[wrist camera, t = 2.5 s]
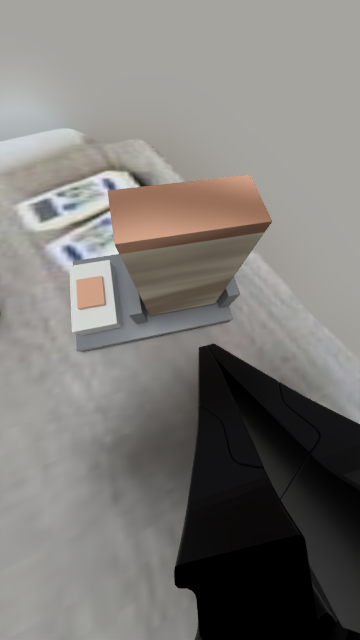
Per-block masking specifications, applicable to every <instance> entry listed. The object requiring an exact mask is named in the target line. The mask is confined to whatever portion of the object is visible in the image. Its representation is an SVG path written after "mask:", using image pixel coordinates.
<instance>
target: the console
mask: <svg viewBox="0 0 360 640" xmlns="http://www.w3.org/2000/svg"><path fill="white" fill-rule="evenodd" d="M70 292H71V320H72V332H73V333H76V340H77V351H80V352H85V351H90V350H94V349H99V348H104V347H109V346H114V345H118V344H123V343H128V342H133V341H138V340H142V339H147V338H152V337H157V336H162V335H166V334H171V333H176V332H181V331H186V330H190V329H195V328H200V327H205V326H210V325H214V324H219V323H224V322H229V321H231V320H232V319H233V318H232V315H231V312H230V309H229V305H230V304H231V303H232V302H233V301H234V300H235V299H236V298H237V297H238V296H239V295H240V292H239V290H238V287H237V284H236V281H235V278H234V277H233V278H232V280H231V281H230V283H229V284H228V285H227V287H226V288H225V290H224V291H223V293H222V294H221V295H220V297H219V298H218V300H217V301H216V303H214V304H209V305H204V306H199V307H194V308H188V309H183V310H178V311H173V312H168V313H163V314H158V315H152V316H150V315H149V313H148V311H147V309H146V307H145V304H144V302H143V300H142V298H141V296H140V294H139V292H138V290H137V288H136V286H135V284H134V282H133V280H132V278H131V276H130V274H129V272H128V270H127V268H126V266H125V264H124V262H123V260H122V258H121V256H120V254H118V255H111V256H104V257H98V258H91V259H85V260H78V261H73V266H70Z"/></svg>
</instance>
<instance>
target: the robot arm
mask: <svg viewBox="0 0 360 640" xmlns="http://www.w3.org/2000/svg"><path fill="white" fill-rule="evenodd" d="M174 578H175V585H176V586H177V587H178V588H187V589H190V590H192V591H193V592H194V594H195V595H196V599H197V610H198V629H197V634H196V637H195V640H360V424H358V423H356V422H354V421H352V420H350V419H348V418H346V417H344V416H342V415H340V414H338V413H336V412H334V411H332V410H330V409H328V408H326V407H324V406H322V405H320V404H318V403H316V402H314V401H313V400H311V399H309V398H307V397H305V396H303V395H301V394H300V393H298V392H296V391H294V390H292V389H291V388H289V387H287V386H285V385H284V384H282V383H280V382H279V383H278V381H277V380H275V379H273V378H272V377H270V376H268V375H267V374H265V373H263V372H262V371H260V370H258V369H256V368H255V367H253V366H251V365H250V364H248V363H246V362H245V361H243V360H241V359H239V358H238V357H236V356H234V355H233V354H231V353H229V352H228V351H226V350H224V349H222V348H221V347H219V346H217V345H216V344H211V345H207V346H202V347H199V383H198V428H197V438H196V447H195V454H194V461H193V469H192V476H191V483H190V490H189V497H188V504H187V511H186V516H185V522H184V527H183V532H182V537H181V542H180V547H179V551H178V556H177V560H176V565H175V570H174Z"/></svg>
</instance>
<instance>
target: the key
mask: <svg viewBox="0 0 360 640" xmlns="http://www.w3.org/2000/svg"><path fill="white" fill-rule="evenodd" d="M108 197H109V205H110V212H111V220H112V228H113V236H114V243H115V246H116V248H117V250H118V252H119V254H120V256H121V258H122V260H123V262H124V264H125V266H126V268H127V270H128V272H129V274H130V276H131V278H132V280H133V282H134V284H135V286H136V288H137V290H138V292H139V294H140V296H141V298H142V300H143V302H144V304H145V307H146V309H147V311H148V313H149V315H150V316H152V315H158V314H163V313H168V312H173V311H178V310H183V309H188V308H194V307H199V306H204V305H209V304H214V303H216V301H217V300H218V298H219V297H220V295H221V294H222V293H223V291H224V290H225V288H226V287H227V285H228V284H229V283H230V281H231V280H232V278H233V277H234V275H235V274H236V272H237V271H238V270H239V268H240V267H241V265H242V264H243V262H244V261H245V260H246V258H247V257H248V255H249V254H250V252H251V251H252V250H253V248H254V247H255V245H256V244H257V242H258V241H259V239H260V238H261V237H262V235H263V234H264V232H265V231H266V229H267V228H268V227H269V225H270V224H271V222H272V220H271V218H270V216H269V214H268V211H267V209H266V207H265V205H264V203H263V201H262V199H261V197H260V195H259V192H258V190H257V188H256V186H255V184H254V182H253V180H252V178H251V176H250V175H244V176H235V177H226V178H217V179H208V180H200V181H190V182H181V183H172V184H163V185H154V186H145V187H137V188H128V189H119V190H110V191H108Z"/></svg>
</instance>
